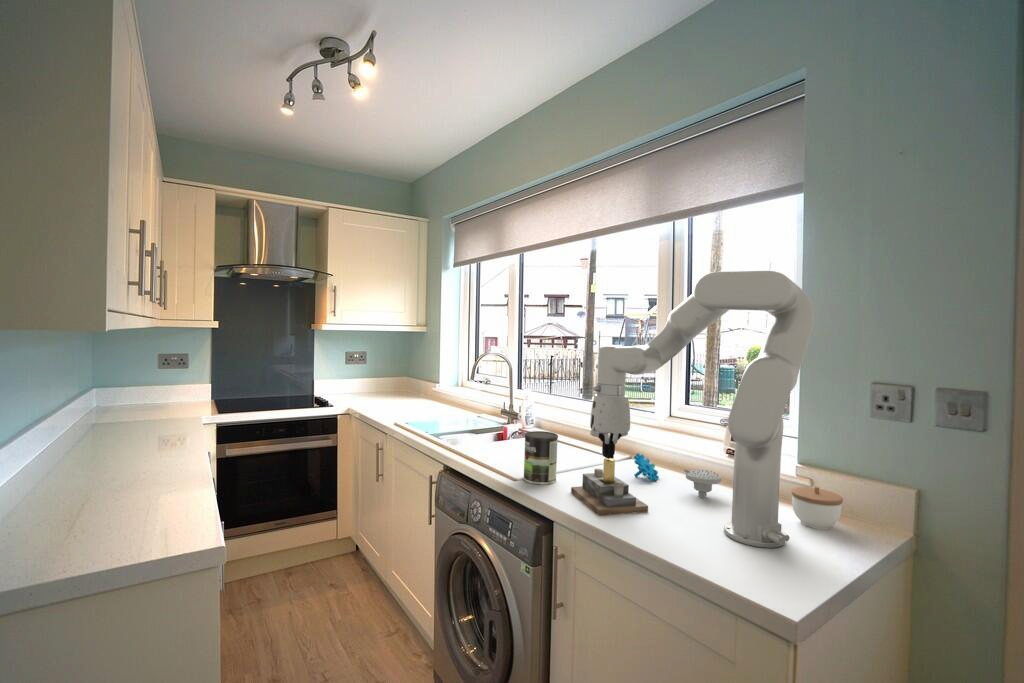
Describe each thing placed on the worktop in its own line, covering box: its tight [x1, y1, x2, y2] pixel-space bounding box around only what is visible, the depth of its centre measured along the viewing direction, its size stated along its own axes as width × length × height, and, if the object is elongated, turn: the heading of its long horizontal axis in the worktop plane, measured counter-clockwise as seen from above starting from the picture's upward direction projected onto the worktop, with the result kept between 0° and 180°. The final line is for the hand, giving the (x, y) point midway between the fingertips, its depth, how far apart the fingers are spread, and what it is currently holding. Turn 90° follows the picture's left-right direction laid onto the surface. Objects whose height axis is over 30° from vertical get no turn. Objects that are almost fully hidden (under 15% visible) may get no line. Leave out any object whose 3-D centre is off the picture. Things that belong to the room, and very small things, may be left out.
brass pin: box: [602, 457, 616, 484], centre depth 133 cm, size 3×3×10 cm
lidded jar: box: [791, 486, 844, 530], centre depth 121 cm, size 11×11×9 cm
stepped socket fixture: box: [570, 468, 649, 516], centre depth 133 cm, size 18×14×7 cm
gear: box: [633, 453, 659, 482], centre depth 157 cm, size 11×6×10 cm
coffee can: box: [523, 430, 559, 486], centre depth 151 cm, size 10×10×14 cm
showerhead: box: [683, 468, 722, 498], centre depth 140 cm, size 9×7×10 cm
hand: (608, 457), depth 133 cm, fingers closed
